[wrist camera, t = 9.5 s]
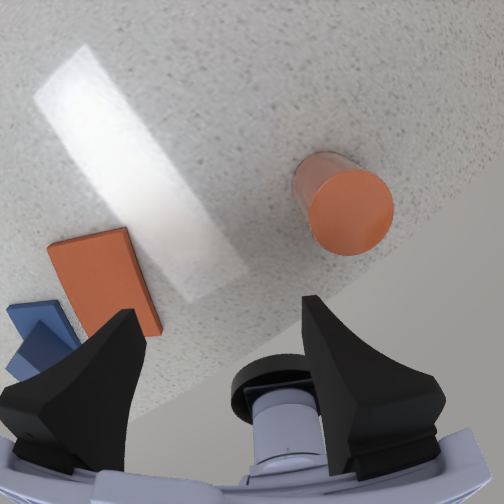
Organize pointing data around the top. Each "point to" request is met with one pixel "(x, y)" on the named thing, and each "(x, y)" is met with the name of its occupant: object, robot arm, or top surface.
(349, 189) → the terracotta cylinder
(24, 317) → the blue mat
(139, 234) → the top surface
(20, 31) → the top surface
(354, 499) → the robot arm
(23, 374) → the blue cube
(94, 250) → the terracotta mat
